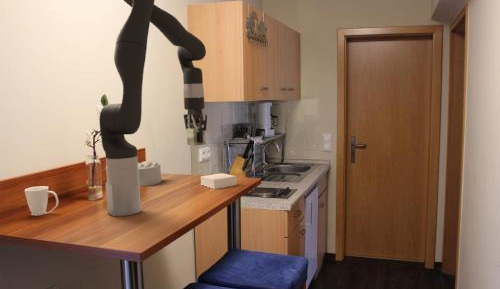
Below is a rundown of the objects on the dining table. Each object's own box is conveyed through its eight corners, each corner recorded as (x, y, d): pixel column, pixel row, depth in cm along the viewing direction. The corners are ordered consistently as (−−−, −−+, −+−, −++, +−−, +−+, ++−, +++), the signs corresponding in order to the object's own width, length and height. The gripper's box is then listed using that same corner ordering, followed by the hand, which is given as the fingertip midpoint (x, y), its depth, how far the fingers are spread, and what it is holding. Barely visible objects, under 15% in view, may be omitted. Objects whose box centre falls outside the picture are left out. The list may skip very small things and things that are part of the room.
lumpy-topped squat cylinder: (163, 179, 191) (162, 159, 190) (155, 186, 178) (154, 164, 177) (139, 180, 192) (138, 160, 191) (129, 186, 179) (128, 165, 178)
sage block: (193, 145, 165) (193, 129, 164) (187, 144, 169) (186, 128, 168) (205, 144, 168) (204, 128, 167) (198, 143, 172) (198, 127, 171)
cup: (34, 211, 144) (31, 186, 143) (64, 210, 143) (62, 185, 142) (21, 217, 137) (19, 191, 136) (53, 216, 136) (51, 190, 135)
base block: (214, 189, 168) (214, 179, 168) (201, 185, 176) (200, 176, 176) (236, 185, 174) (236, 176, 173) (222, 181, 182) (222, 173, 181)
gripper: (175, 97, 170) (178, 141, 172) (194, 96, 158) (197, 144, 160) (193, 96, 174) (195, 139, 176) (212, 95, 162) (215, 142, 164)
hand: (196, 141), depth 168 cm, fingers closed on sage block, 5 cm apart
